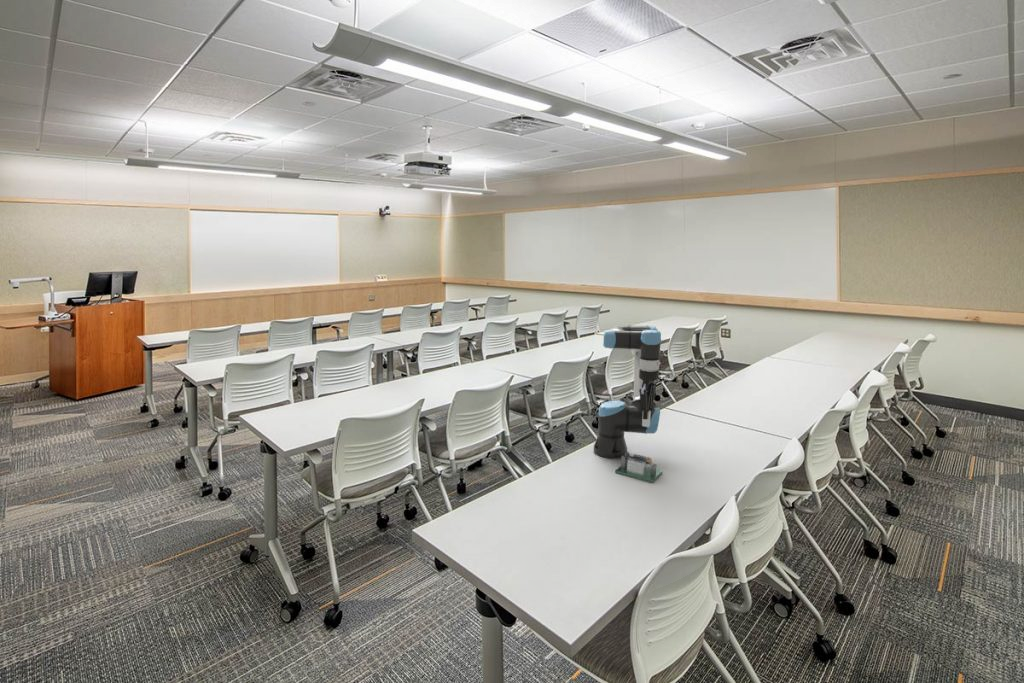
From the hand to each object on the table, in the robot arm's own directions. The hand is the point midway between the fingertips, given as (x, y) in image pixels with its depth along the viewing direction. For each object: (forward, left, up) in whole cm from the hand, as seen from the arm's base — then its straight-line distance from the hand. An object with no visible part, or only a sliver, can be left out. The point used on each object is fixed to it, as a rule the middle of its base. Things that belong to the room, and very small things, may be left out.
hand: (645, 426), depth 210 cm
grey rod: (-3, 0, -16) cm, 16 cm away
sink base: (-2, 0, -21) cm, 21 cm away
